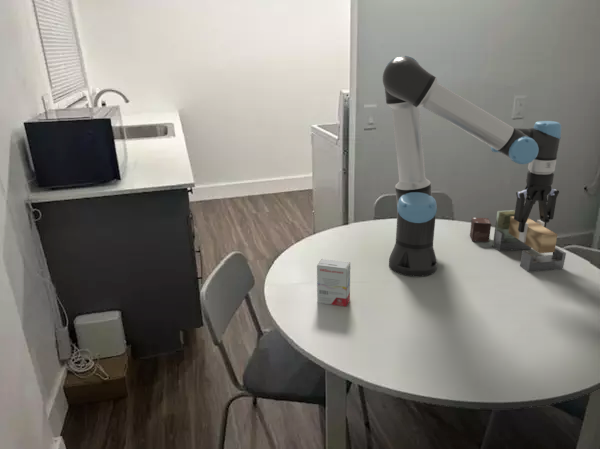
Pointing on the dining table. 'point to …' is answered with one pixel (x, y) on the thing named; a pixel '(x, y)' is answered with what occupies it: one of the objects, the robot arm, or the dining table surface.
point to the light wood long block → (535, 236)
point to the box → (480, 229)
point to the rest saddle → (542, 261)
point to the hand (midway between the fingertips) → (530, 240)
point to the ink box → (333, 282)
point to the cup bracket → (506, 233)
